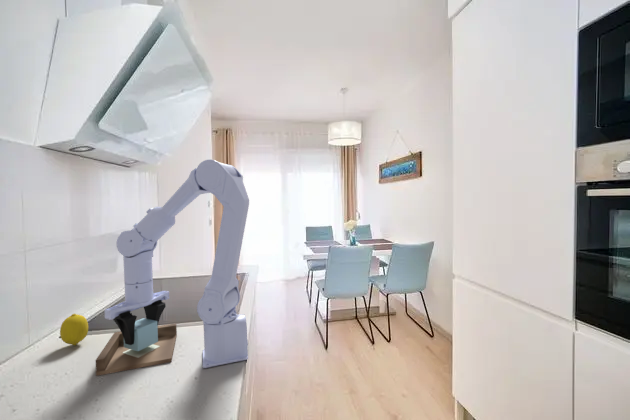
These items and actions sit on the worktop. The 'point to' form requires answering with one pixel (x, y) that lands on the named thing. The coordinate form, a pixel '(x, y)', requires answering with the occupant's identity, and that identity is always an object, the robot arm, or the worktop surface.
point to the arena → (136, 352)
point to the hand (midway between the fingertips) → (141, 338)
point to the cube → (144, 334)
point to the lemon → (74, 329)
